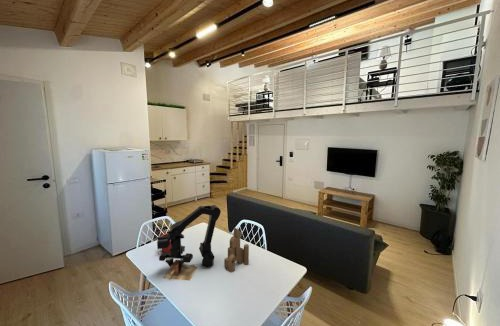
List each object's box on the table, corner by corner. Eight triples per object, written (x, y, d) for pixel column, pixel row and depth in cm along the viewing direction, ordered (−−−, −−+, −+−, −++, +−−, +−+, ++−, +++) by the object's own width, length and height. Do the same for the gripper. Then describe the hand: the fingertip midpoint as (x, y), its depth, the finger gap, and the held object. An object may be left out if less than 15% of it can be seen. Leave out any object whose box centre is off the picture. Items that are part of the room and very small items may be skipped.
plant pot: (156, 254, 156) (155, 237, 154) (170, 246, 167) (170, 230, 166) (169, 259, 150) (169, 242, 148) (183, 250, 161) (183, 234, 160)
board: (197, 268, 139) (197, 263, 139) (189, 282, 126) (189, 276, 125) (173, 266, 141) (173, 261, 140) (162, 280, 127) (162, 274, 127)
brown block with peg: (182, 268, 137) (181, 260, 136) (174, 279, 126) (174, 270, 125) (175, 268, 137) (175, 259, 136) (167, 279, 126) (167, 270, 126)
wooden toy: (230, 273, 135) (230, 233, 132) (224, 268, 140) (224, 230, 137) (249, 263, 145) (250, 227, 142) (243, 259, 150) (243, 224, 147)
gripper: (195, 240, 139) (196, 264, 140) (167, 238, 140) (167, 262, 142) (189, 249, 128) (189, 274, 129) (158, 247, 129) (159, 272, 131)
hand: (176, 270), depth 133 cm, fingers closed on brown block with peg, 4 cm apart
